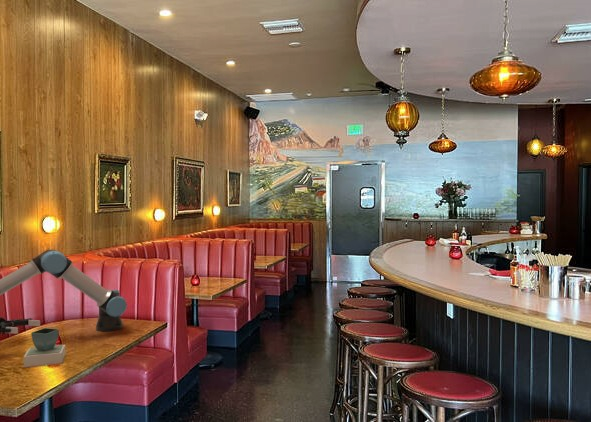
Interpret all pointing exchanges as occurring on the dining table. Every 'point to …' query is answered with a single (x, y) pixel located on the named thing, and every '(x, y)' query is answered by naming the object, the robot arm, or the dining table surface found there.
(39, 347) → the flower pot
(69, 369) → the dining table surface
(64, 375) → the dining table surface
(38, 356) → the grey box
